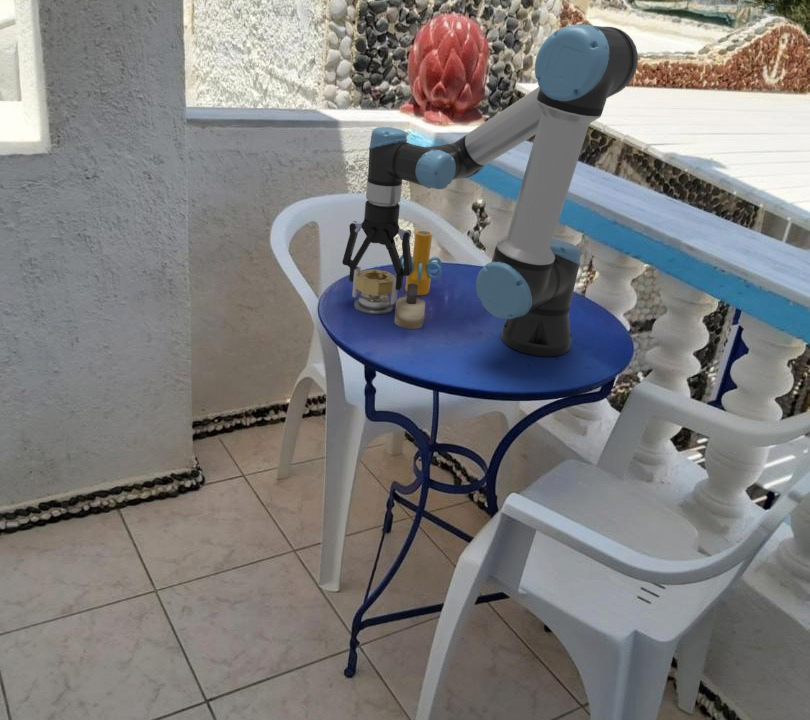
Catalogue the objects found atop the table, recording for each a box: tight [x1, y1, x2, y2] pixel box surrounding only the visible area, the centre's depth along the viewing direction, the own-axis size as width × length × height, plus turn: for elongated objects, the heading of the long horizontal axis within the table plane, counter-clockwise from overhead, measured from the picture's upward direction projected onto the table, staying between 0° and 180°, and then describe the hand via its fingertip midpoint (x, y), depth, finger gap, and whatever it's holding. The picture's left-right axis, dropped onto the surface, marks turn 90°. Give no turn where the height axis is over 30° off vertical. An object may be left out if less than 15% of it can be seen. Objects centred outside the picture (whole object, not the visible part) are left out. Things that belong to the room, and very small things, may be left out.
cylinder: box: [399, 229, 442, 296], centre depth 187 cm, size 12×10×15 cm
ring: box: [355, 269, 395, 296], centre depth 175 cm, size 8×8×3 cm
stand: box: [394, 284, 426, 330], centre depth 170 cm, size 6×6×9 cm
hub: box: [353, 279, 394, 316], centre depth 177 cm, size 9×9×7 cm
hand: (374, 298), depth 177 cm, fingers closed on ring, 8 cm apart
